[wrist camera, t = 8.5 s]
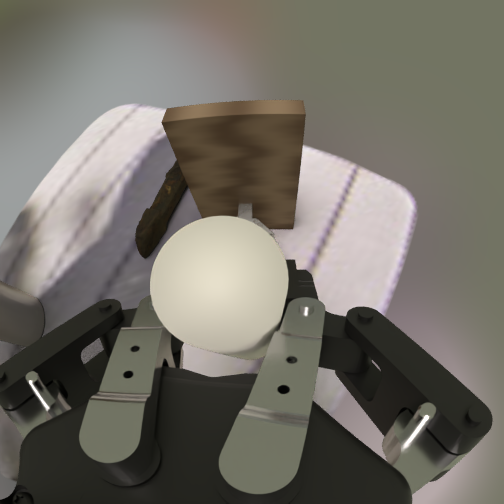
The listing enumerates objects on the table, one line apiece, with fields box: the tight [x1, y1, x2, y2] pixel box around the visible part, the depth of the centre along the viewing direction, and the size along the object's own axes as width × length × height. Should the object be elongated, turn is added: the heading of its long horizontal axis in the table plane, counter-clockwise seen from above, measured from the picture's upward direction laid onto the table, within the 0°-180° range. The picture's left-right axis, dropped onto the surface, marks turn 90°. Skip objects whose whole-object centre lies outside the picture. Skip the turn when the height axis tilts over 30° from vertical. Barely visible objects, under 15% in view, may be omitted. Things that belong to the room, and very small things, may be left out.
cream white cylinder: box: [150, 216, 289, 360], centre depth 12 cm, size 4×4×12 cm
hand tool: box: [135, 160, 187, 258], centre depth 40 cm, size 19×4×5 cm, turn 160°
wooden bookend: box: [162, 100, 306, 229], centre depth 31 cm, size 12×6×20 cm, turn 88°
